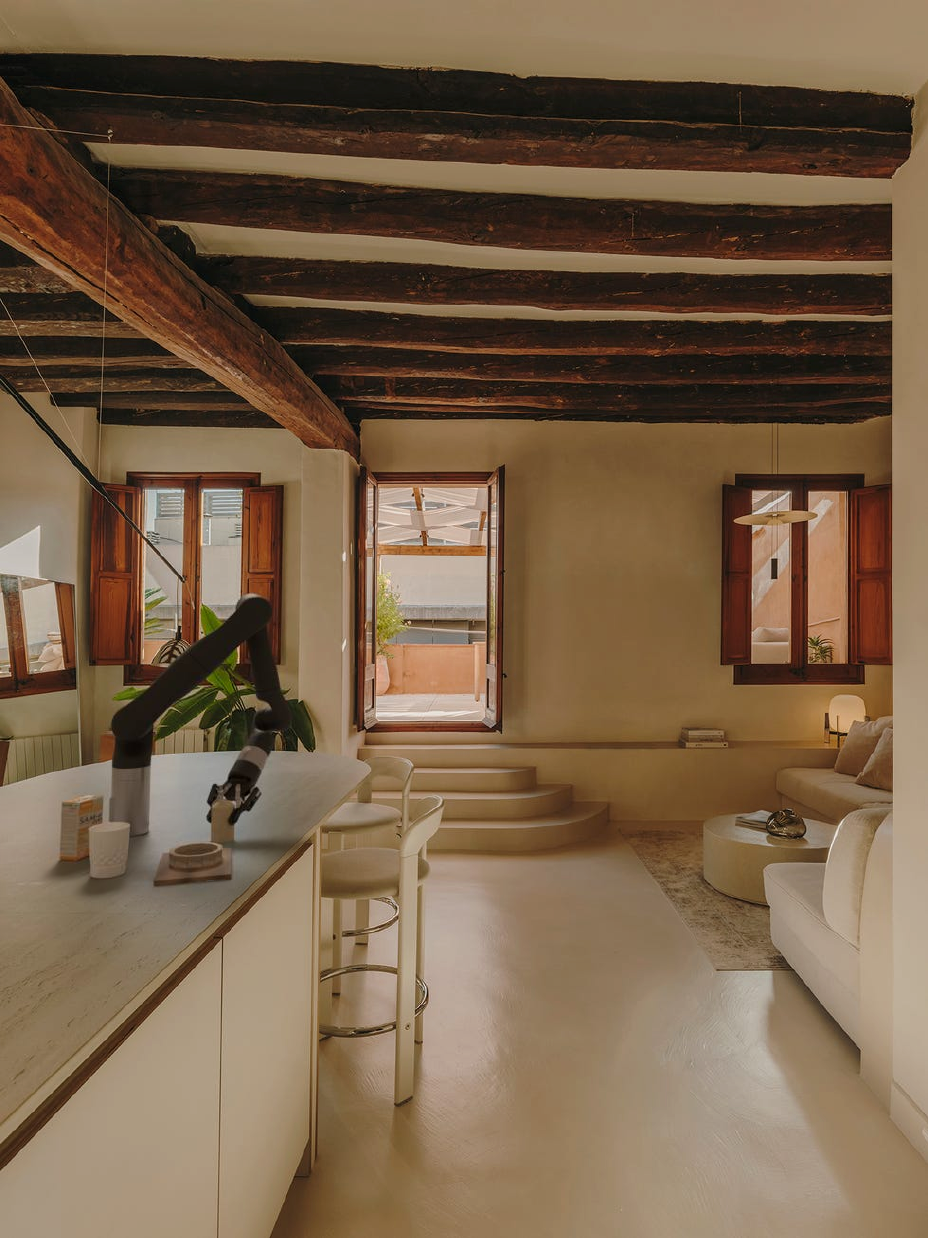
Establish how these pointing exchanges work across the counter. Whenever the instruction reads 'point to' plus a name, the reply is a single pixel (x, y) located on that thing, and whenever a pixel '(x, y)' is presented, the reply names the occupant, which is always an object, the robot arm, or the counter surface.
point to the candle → (222, 822)
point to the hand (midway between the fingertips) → (219, 822)
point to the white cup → (108, 849)
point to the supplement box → (79, 825)
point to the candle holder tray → (194, 864)
